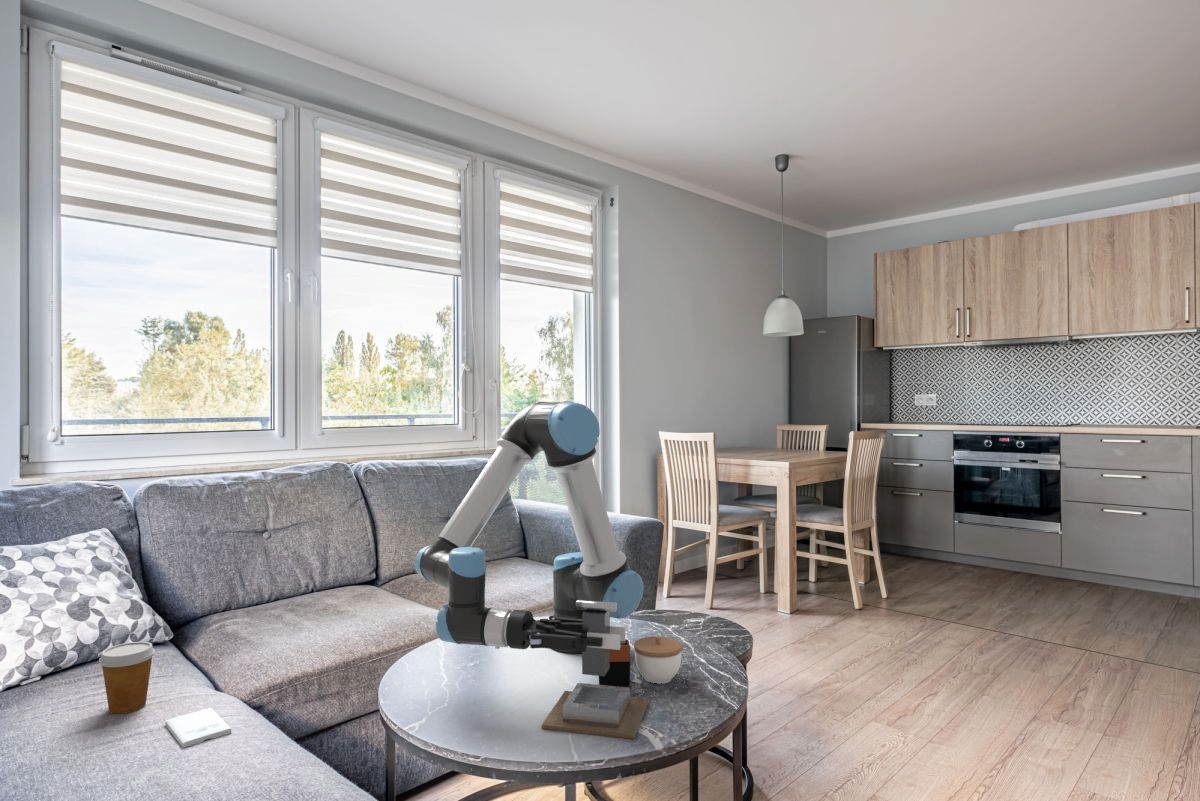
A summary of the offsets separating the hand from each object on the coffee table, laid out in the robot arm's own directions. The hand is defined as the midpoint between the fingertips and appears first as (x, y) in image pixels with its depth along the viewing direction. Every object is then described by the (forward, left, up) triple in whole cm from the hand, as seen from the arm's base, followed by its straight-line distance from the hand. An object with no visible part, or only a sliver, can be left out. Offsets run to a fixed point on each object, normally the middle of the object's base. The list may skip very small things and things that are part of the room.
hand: (622, 637), depth 138 cm
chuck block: (0, -5, -16) cm, 17 cm away
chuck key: (0, -5, -7) cm, 9 cm away
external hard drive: (+23, -78, -17) cm, 83 cm away
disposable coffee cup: (+18, -100, -16) cm, 103 cm away
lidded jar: (-21, +4, -16) cm, 27 cm away
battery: (-16, -5, -16) cm, 23 cm away
